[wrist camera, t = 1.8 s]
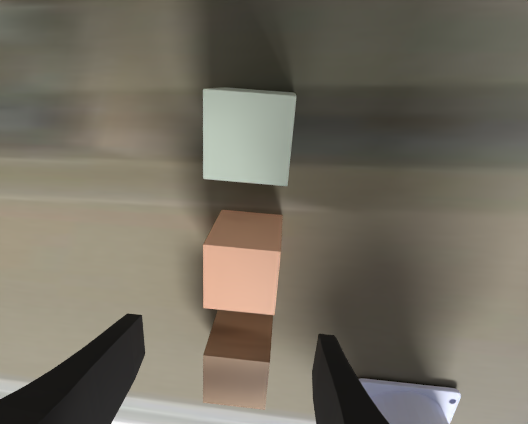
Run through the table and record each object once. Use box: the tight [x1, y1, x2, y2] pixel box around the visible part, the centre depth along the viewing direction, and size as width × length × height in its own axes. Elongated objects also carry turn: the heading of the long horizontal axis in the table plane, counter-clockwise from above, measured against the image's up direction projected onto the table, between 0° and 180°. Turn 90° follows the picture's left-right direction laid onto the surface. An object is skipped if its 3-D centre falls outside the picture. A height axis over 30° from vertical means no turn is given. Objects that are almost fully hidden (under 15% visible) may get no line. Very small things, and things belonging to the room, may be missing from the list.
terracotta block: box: [203, 210, 282, 315], centre depth 20 cm, size 4×4×5 cm
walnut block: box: [203, 310, 273, 410], centre depth 22 cm, size 4×4×5 cm
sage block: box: [203, 87, 296, 186], centre depth 17 cm, size 4×4×5 cm
